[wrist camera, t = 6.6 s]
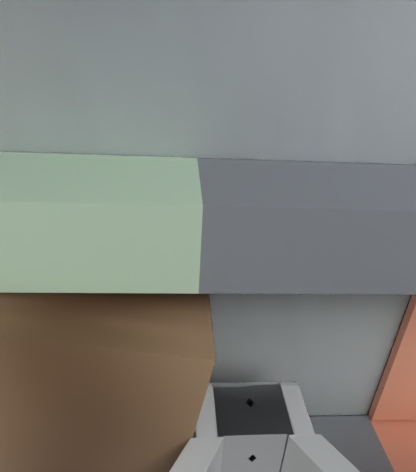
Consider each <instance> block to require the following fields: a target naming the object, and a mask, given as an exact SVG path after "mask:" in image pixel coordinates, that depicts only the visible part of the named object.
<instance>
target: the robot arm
mask: <svg viewBox="0 0 416 472" xmlns="http://www.w3.org/2000/svg"><path fill="white" fill-rule="evenodd" d="M169 472H360V471H359V470H358V469H357V468H356V467H355V466H354V465H353V464H351V463H350V462H349V461H348V460H347V459H346V458H345V457H344V456H343V455H342V454H341V453H340V452H339V451H338V450H337V449H336V448H335V447H334V446H333V445H331V444H330V443H329V442H328V441H327V440H326V439H325V438H324V437H323V436H322V435H321V434H315V432H314V429H313V426H312V423H311V420H310V417H309V414H308V411H307V408H306V405H305V402H304V399H303V396H302V394H301V391H300V388H299V385H298V383H297V382H296V381H290V382H277V381H276V382H244V383H209V385H208V388H207V391H206V395H205V398H204V401H203V405H202V408H201V411H200V415H199V418H198V421H197V424H196V428H195V431H194V434H193V438H190V439H189V441H188V442H187V444H186V446H185V447H184V449H183V450H182V452H181V454H180V455H179V457H178V458H177V460H176V462H175V463H174V465H173V467H172V468H171V470H170V471H169Z"/></svg>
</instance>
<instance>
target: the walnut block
mask: <svg viewBox="0 0 416 472" xmlns="http://www.w3.org/2000/svg"><path fill="white" fill-rule="evenodd" d="M215 362H216V357H215V347H214V338H213V328H212V318H211V308H210V299H209V294H185V293H0V472H169V471H170V470H171V468H172V467H173V465H174V463H175V462H176V460H177V458H178V457H179V455H180V454H181V452H182V450H183V449H184V447H185V446H186V444H187V442H188V441H189V439H190V438H193V434H194V431H195V428H196V424H197V421H198V418H199V415H200V411H201V408H202V405H203V401H204V398H205V395H206V391H207V388H208V385H209V382H210V378H211V375H212V372H213V368H214V365H215Z"/></svg>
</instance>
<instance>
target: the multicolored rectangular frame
mask: <svg viewBox="0 0 416 472" xmlns="http://www.w3.org/2000/svg"><path fill="white" fill-rule="evenodd" d="M0 293H185V294H369V295H412V296H411V299H410V302H409V304H408V307H407V310H406V313H405V315H404V318H403V321H402V323H401V326H400V329H399V332H398V334H397V337H396V340H395V342H394V345H393V348H392V351H391V353H390V356H389V359H388V362H387V364H386V367H385V370H384V372H383V375H382V378H381V381H380V383H379V386H378V389H377V391H376V394H375V397H374V400H373V402H372V405H371V408H370V410H369V413H368V414H369V415H363V416H312V417H310V420H311V423H312V426H313V429H314V432H315V434H321V435H322V436H323V437H324V438H325V439H326V440H327V441H328V442H329V443H330V444H331V445H333V446H334V447H335V448H336V449H337V450H338V451H339V452H340V453H341V454H342V455H343V456H344V457H345V458H346V459H347V460H348V461H349V462H350V463H351V464H353V465H354V466H355V467H356V468H357V469H358V470H359V471H360V472H416V165H401V164H370V163H340V162H309V161H278V160H247V159H216V158H185V157H155V156H124V155H93V154H62V153H31V152H0Z"/></svg>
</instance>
